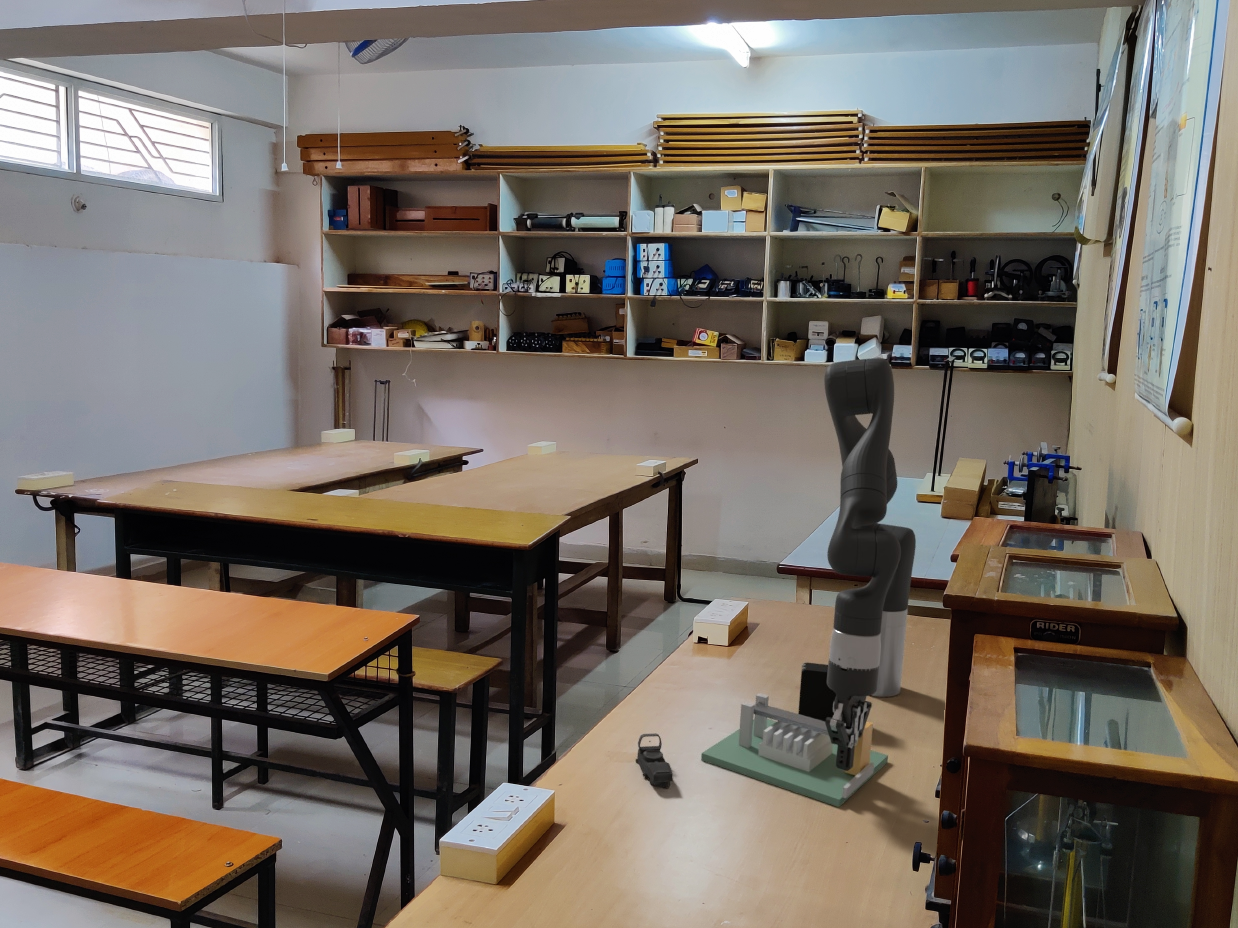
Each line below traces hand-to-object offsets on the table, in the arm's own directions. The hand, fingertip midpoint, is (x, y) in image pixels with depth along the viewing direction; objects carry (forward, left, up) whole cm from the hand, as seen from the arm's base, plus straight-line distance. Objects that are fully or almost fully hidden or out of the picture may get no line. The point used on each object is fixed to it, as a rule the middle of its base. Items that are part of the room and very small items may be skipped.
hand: (844, 767), depth 152 cm
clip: (-6, -2, -3) cm, 6 cm away
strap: (-5, -11, +3) cm, 12 cm away
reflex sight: (+14, -25, -4) cm, 30 cm away
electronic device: (-24, -13, -4) cm, 28 cm away
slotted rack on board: (-5, -10, -4) cm, 12 cm away
